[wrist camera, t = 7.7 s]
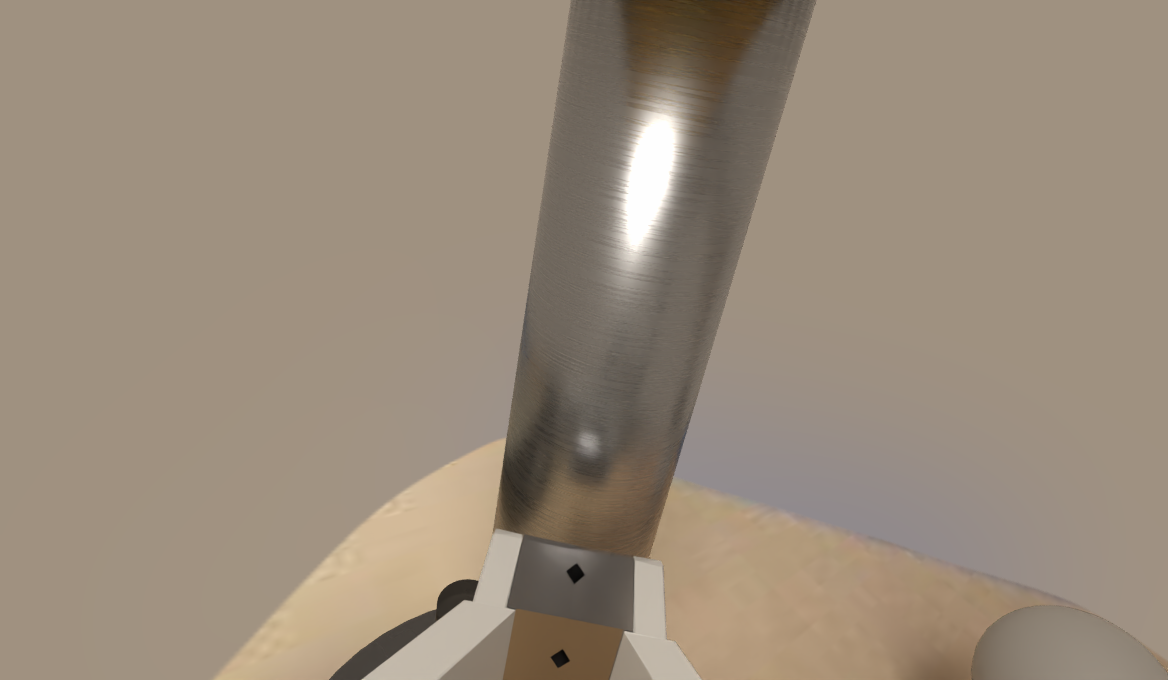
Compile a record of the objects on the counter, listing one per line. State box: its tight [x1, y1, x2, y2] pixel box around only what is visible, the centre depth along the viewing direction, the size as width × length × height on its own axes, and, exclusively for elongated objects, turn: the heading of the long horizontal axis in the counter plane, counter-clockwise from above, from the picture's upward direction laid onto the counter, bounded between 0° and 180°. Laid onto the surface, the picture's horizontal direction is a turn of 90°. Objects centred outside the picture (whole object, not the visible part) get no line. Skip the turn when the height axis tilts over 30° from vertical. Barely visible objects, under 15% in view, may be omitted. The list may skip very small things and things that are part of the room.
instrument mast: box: [493, 0, 816, 559], centre depth 14 cm, size 8×6×31 cm
